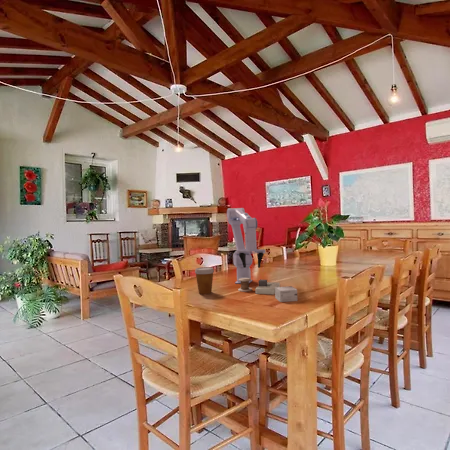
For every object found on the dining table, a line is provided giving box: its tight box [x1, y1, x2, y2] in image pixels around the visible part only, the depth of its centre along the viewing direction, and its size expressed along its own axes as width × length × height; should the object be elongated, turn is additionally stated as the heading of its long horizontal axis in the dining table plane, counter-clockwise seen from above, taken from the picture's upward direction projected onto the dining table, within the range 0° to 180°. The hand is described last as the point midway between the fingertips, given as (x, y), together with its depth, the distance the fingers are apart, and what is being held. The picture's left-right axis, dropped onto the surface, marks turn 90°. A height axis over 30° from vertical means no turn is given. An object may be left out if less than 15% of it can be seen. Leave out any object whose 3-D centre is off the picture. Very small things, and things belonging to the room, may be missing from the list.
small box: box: [274, 285, 298, 303], centre depth 144 cm, size 8×8×5 cm
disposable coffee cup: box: [194, 266, 215, 295], centre depth 163 cm, size 10×10×12 cm
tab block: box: [258, 279, 268, 287], centre depth 164 cm, size 4×4×5 cm
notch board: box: [254, 281, 281, 295], centre depth 163 cm, size 16×9×2 cm, turn 162°
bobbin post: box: [237, 278, 253, 292], centre depth 166 cm, size 7×7×6 cm
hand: (251, 267), depth 172 cm, fingers open, 7 cm apart
